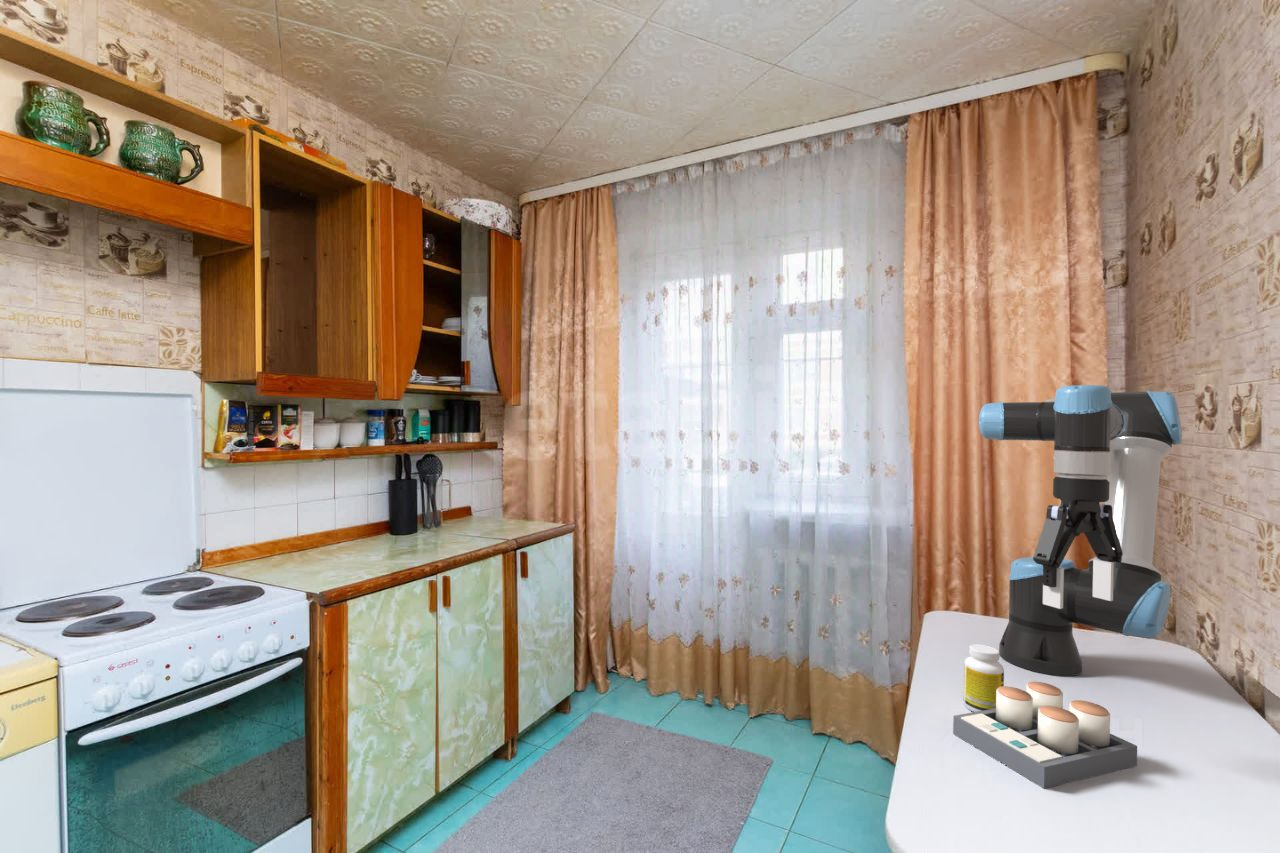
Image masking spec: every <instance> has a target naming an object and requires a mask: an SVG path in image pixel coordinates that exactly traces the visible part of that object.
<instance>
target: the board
mask: <svg viewBox="0 0 1280 853" xmlns="http://www.w3.org/2000/svg"><path fill="white" fill-rule="evenodd" d="M952 722H953V725H952V726H953V728H952V729H953V730H952V734H953V735H954V736H956V737H957V738H959V739H961V740H962V741H964V742H965V743H968V745H969V744H970V745H971V746H972V745H973V747H974V748H975V749H978V750H979V751H981V752H983V753H984V754H986V755H988V756H989V757H991V758H992V757H993V758H992V759H994V758H995V759H994V760H996V761H997V760H998V762H999V761H1000V762H999V763H1001V762H1002V763H1003V764H1002V763H1001V764H1002V765H1004V764H1005V765H1004V766H1006V765H1007V766H1008V767H1007V766H1006V767H1007V768H1009V769H1010V770H1012V771H1014V772H1016V773H1017V774H1019V775H1021V776H1022V777H1024V778H1026V779H1027V780H1029V781H1031V782H1032V783H1034V784H1036V785H1037V786H1039V787H1040V788H1042V789H1044V790H1045V789H1048V788H1053V787H1057V786H1060V785H1064V784H1068V783H1072V782H1077V781H1080V780H1086V779H1090V778H1093V777H1097V776H1101V775H1104V774H1105V775H1106V774H1109V773H1112V772H1117V771H1121V770H1126V769H1129V768H1132V767H1137V766H1138V745H1136V744H1135V743H1132V742H1130V741H1128V740H1126V739H1123V738H1121V737H1119V736H1116V735H1115V734H1112V733H1110V744H1109V746H1106V747H1099V746H1093V745H1089V744H1086V743H1083V742H1081V741H1078V752H1077V753H1075V754H1066V753H1061V752H1057V751H1054V750H1050V749H1049V748H1047V747H1045V746H1043V745H1042V744H1041V743H1039V741H1038V739H1037V737H1038V720H1036V719H1034V718H1032V728H1031V729H1029V730H1020V729H1015V728H1011V727H1008V726H1006V725H1004V724H1002V723H1000V722H999V721H998V720H997V719H996V708H995V709H990V710H984V711H978V712H972V711H971V712H967V713H962V714H956V715H953V721H952Z"/></svg>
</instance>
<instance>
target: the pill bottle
mask: <svg viewBox="0 0 1280 853" xmlns="http://www.w3.org/2000/svg"><path fill="white" fill-rule="evenodd" d="M969 655H970V656H968V657H966V658H965V660H964V664H963V670H964V672H963V705H964V707H965V708H966V709H968V710H969V711H970V712H971V713H972V712H978V711H984V710H990V709H995V708H996V690H997V689H998V687H1001V686H1005V685H1004V684H1005V680H1004V679H1005V669H1004V666H1003V665H1002V663H1000V662H999V660H1000V658H1001V656H1000V655H999V649H996V648H995V647H992V646H988V645H985V644H977V643H974V644H971V645H969Z"/></svg>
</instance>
